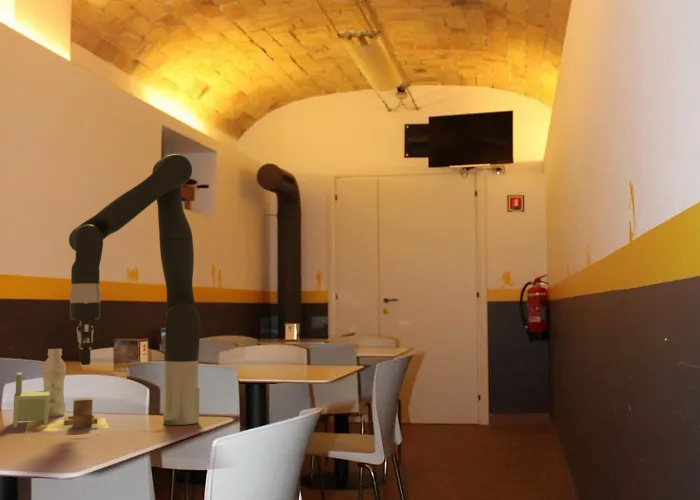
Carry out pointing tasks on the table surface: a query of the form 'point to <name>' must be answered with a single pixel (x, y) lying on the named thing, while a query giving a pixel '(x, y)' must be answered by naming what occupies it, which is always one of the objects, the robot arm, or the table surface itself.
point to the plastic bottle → (54, 382)
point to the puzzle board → (63, 425)
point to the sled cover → (30, 404)
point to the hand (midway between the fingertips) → (84, 363)
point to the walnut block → (82, 412)
